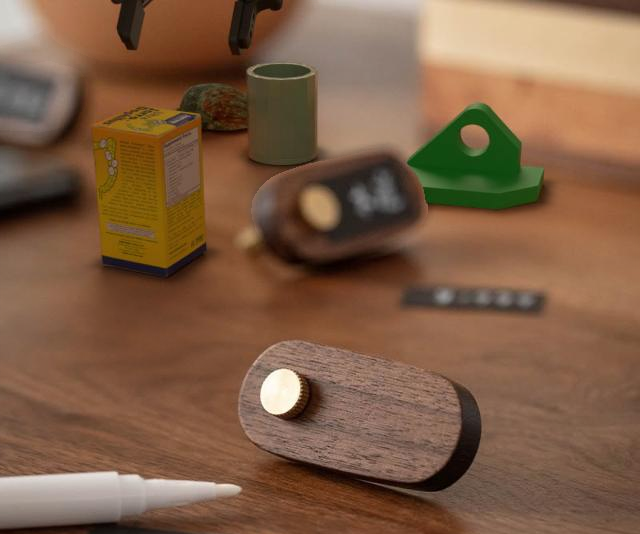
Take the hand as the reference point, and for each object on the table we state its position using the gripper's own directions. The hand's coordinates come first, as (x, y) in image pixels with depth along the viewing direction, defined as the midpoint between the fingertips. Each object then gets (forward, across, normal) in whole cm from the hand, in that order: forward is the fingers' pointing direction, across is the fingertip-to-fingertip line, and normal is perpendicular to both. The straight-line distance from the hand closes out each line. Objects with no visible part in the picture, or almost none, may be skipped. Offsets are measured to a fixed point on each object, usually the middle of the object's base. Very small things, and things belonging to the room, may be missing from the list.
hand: (181, 47), depth 102 cm
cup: (-3, +4, +22) cm, 23 cm away
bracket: (+3, +22, +18) cm, 28 cm away
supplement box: (+17, 0, +3) cm, 17 cm away
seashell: (-10, -5, +30) cm, 31 cm away
